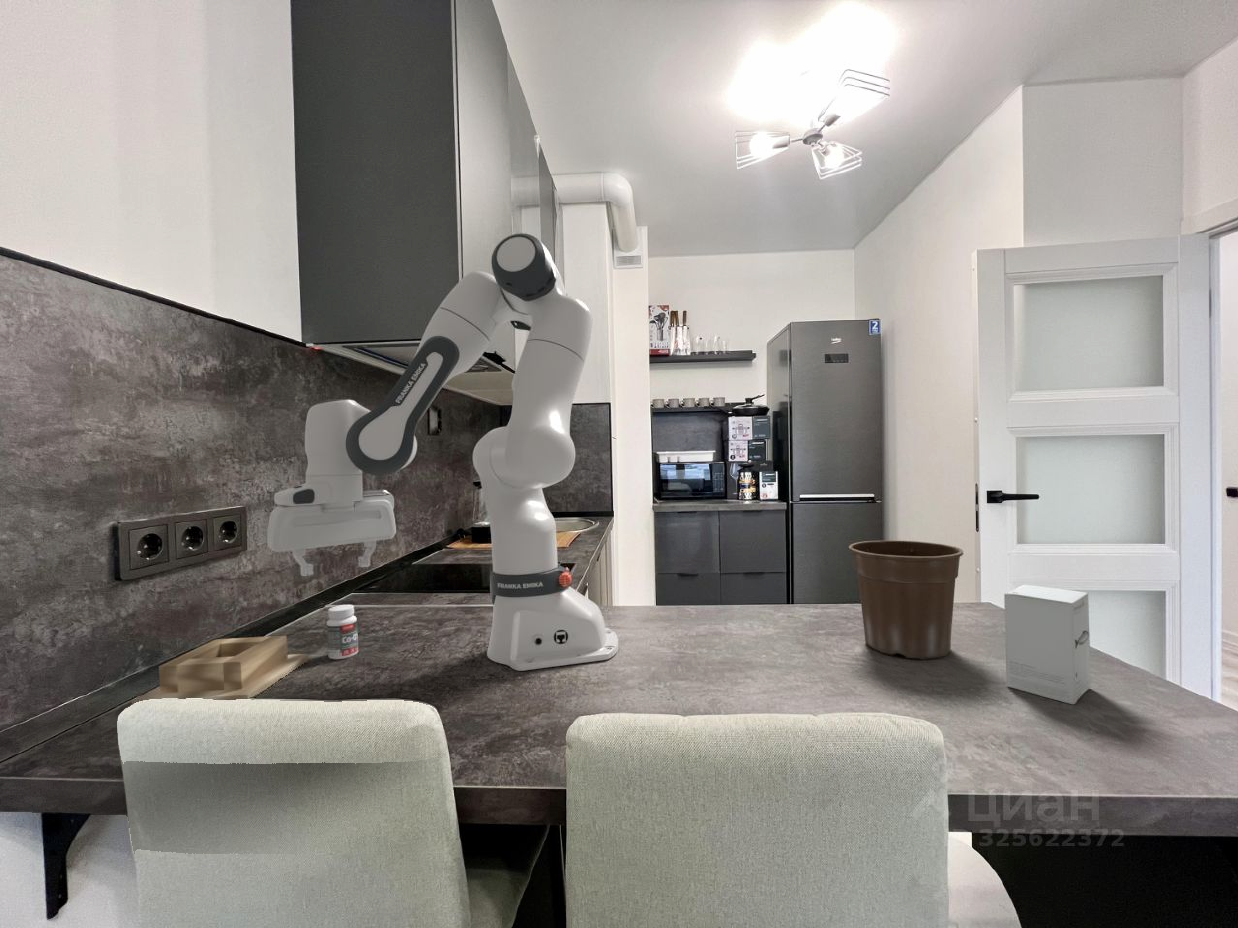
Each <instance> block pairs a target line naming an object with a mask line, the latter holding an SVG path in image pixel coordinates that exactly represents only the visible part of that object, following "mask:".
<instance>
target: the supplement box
mask: <svg viewBox="0 0 1238 928" xmlns="http://www.w3.org/2000/svg"><path fill="white" fill-rule="evenodd" d="M1003 596H1004V598H1003V599H1004V603H1003V604H1004V628H1005V629H1004V630H1005V631H1004V635H1005V671H1006V675H1005V676H1006V677H1005V678H1006V679H1005V680H1006V687H1009V688H1012V689H1015V690H1019V691H1023V692H1026V693H1029V694H1032V695H1037V696H1039V697H1044V698H1048V699H1052V700H1055V701H1058V702H1062V703H1066V704H1071V705H1075V704H1076V703H1077V702H1078V701H1079V699H1080V698H1081V697H1082V696H1083V695H1084V694H1085V693H1086V692H1087V691H1089V689H1091V685H1092V682H1091V640H1090V634H1091V633H1090V612H1089V611H1090V610H1089V592H1086V591H1085V592H1084V591H1078V590H1073V589H1072V590H1071V589H1064V588H1057V587H1048V586H1047V587H1046V586H1041V585H1040V586H1039V585H1032V584H1022V585H1019V586H1018V587H1015V588H1013V589H1011V590H1009V591H1008V592H1005V593H1004V595H1003Z"/></svg>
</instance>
